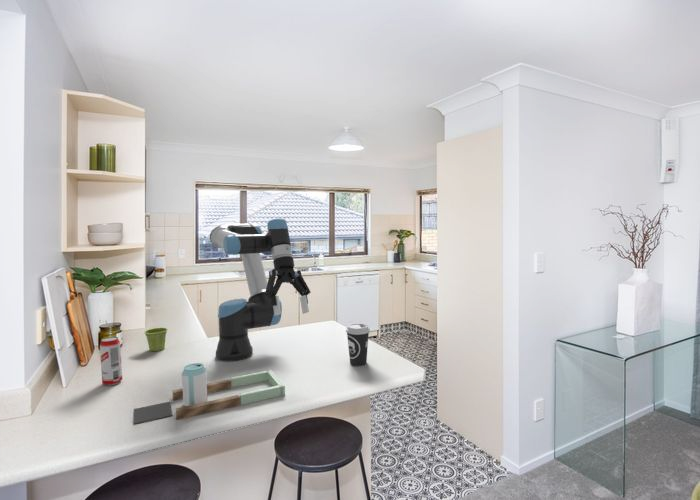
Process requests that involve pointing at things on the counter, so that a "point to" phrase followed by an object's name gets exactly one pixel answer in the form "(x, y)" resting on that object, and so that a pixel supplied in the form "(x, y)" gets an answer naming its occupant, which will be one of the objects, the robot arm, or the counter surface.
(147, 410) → the pit mat
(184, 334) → the counter surface
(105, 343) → the beer can
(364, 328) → the coffee cup
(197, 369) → the can
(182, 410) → the channel
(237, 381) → the corral
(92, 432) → the counter surface
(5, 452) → the counter surface
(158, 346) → the plant pot
